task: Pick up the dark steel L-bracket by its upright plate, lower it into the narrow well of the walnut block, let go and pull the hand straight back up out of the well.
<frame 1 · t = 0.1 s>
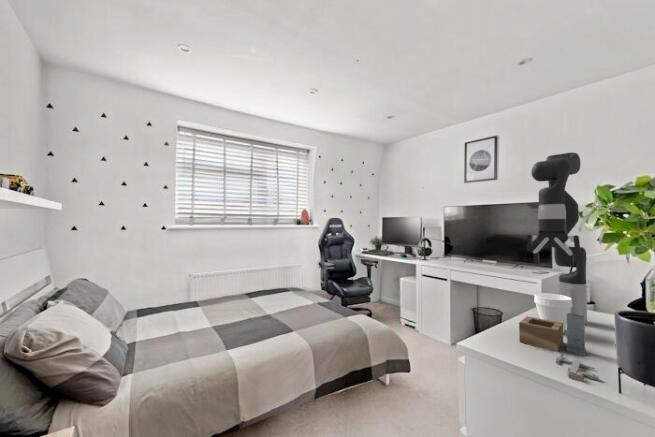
hand: (552, 265, 98), 29 cm above the table, tool pointing down, fingers open, 8 cm apart
cup: (553, 330, 117), on the table
well block: (541, 342, 104), on the table
clamp: (576, 372, 84), on the table
bracket: (576, 351, 96), on the table
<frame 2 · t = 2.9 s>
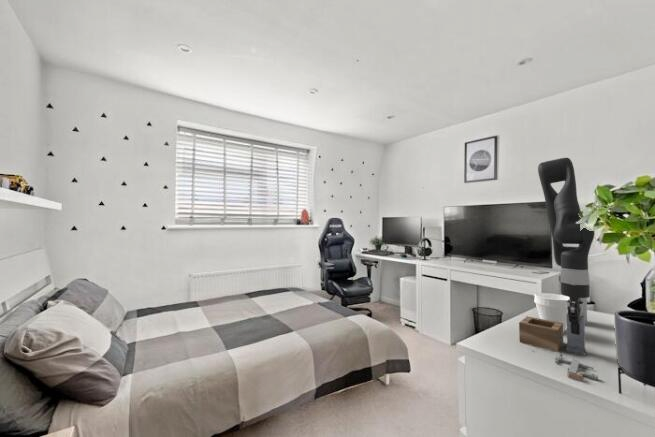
hand: (576, 332, 97), 6 cm above the table, tool pointing down, fingers closed on bracket, 2 cm apart
bracket: (576, 351, 96), on the table, touching gripper
everything else where it was.
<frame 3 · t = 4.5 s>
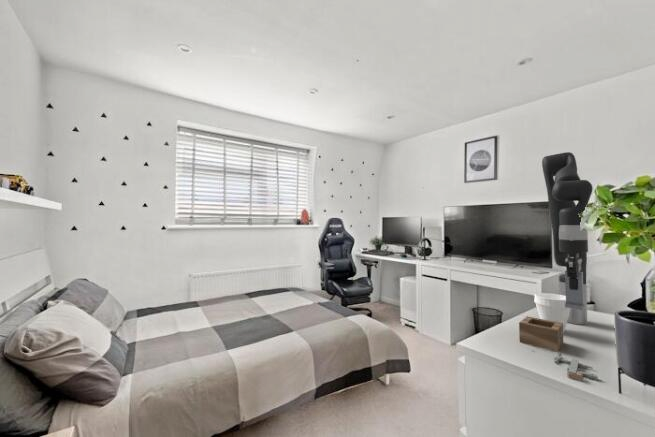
hand: (574, 288, 98), 21 cm above the table, tool pointing down, fingers closed on bracket, 2 cm apart
bracket: (574, 307, 97), point 15 cm above the table, touching gripper
everything else where it was.
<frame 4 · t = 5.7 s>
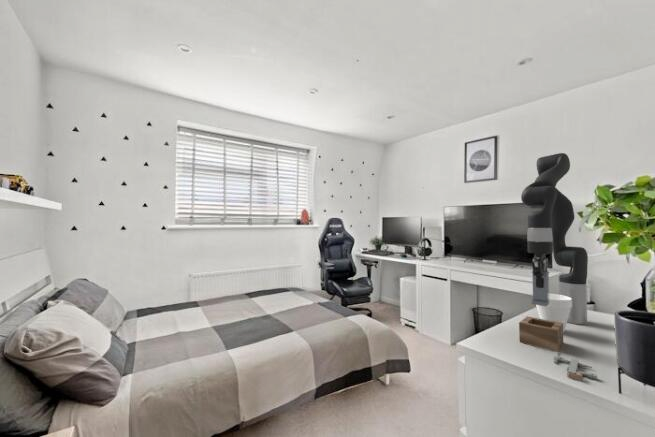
hand: (540, 286, 106), 20 cm above the table, tool pointing down, fingers closed on bracket, 2 cm apart
bracket: (540, 304, 105), point 14 cm above the table, touching gripper
everything else where it was.
when the fingers open (8 cm above the table, at t = 8.5 s): bracket drops 2 cm, resting in well block.
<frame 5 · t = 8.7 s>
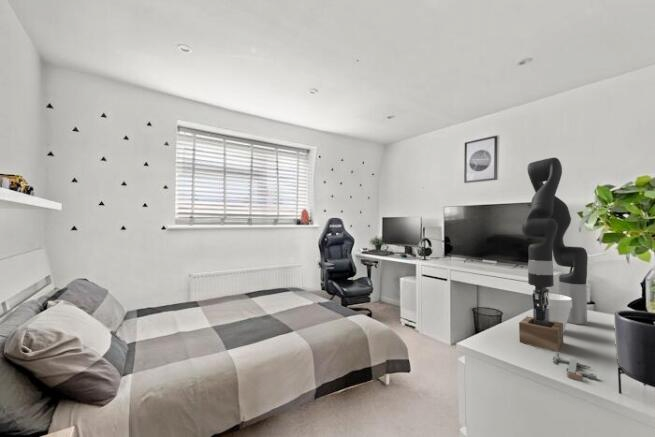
hand: (541, 318, 105), 8 cm above the table, tool pointing down, fingers open, 4 cm apart
bracket: (541, 342, 104), resting in well block
everything else where it was.
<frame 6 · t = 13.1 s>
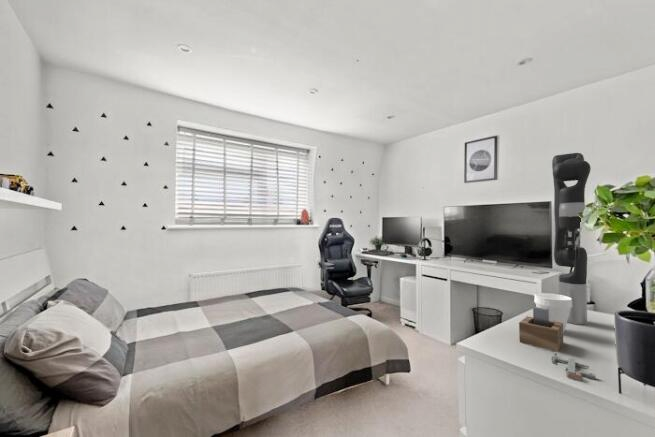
hand: (573, 259, 105), 30 cm above the table, tool pointing down, fingers open, 8 cm apart
nothing on the table moved.
at the end: bracket 0.2 cm off-centre on the well block, point 0.0 cm above the well block's base; bracket tilted 0°; the gripper is holding nothing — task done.
